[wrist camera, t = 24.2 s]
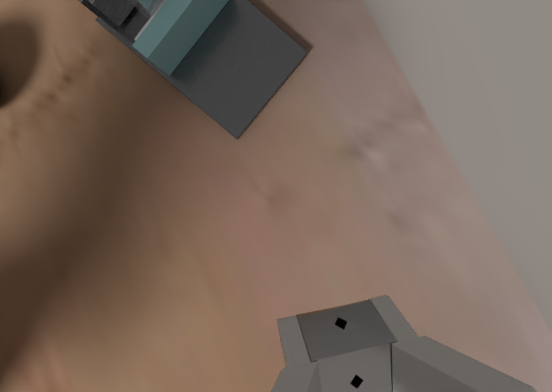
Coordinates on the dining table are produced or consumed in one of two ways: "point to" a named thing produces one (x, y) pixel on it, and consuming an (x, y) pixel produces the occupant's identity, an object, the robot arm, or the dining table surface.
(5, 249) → the dining table surface
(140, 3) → the steel block
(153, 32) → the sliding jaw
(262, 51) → the vise
